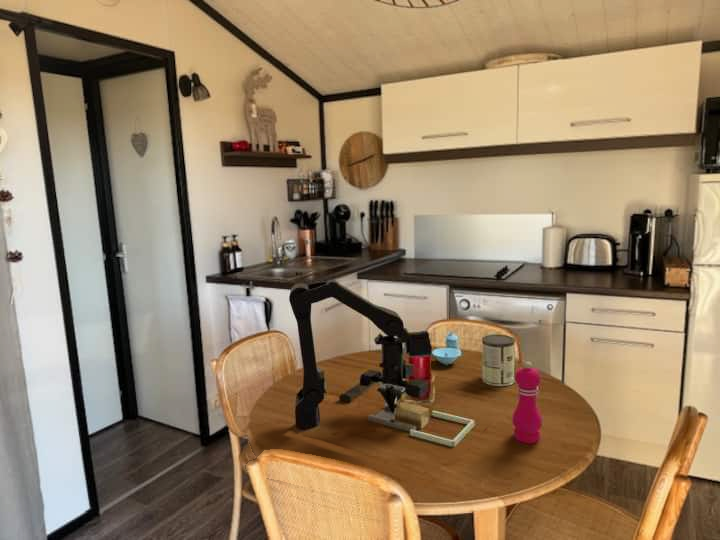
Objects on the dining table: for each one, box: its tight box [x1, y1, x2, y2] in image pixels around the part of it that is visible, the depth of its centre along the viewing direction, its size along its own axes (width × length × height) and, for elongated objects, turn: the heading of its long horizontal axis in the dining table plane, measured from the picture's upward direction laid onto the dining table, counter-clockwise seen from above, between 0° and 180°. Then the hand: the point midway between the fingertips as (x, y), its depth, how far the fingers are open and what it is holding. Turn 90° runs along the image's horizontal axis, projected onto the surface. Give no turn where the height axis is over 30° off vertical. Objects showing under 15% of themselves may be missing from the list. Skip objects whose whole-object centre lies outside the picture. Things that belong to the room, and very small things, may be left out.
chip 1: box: [395, 401, 415, 424], centre depth 140 cm, size 4×4×4 cm
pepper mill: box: [511, 361, 543, 444], centre depth 129 cm, size 7×7×20 cm
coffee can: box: [481, 334, 516, 387], centre depth 167 cm, size 10×10×14 cm
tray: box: [409, 410, 476, 448], centre depth 134 cm, size 13×12×2 cm
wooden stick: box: [338, 381, 375, 404], centre depth 161 cm, size 19×4×5 cm, turn 147°
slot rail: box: [367, 402, 431, 433], centre depth 141 cm, size 10×14×2 cm
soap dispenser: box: [431, 331, 462, 366], centre depth 188 cm, size 18×10×9 cm, turn 158°
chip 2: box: [408, 404, 429, 429], centre depth 138 cm, size 4×4×4 cm
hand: (393, 412), depth 142 cm, fingers closed
